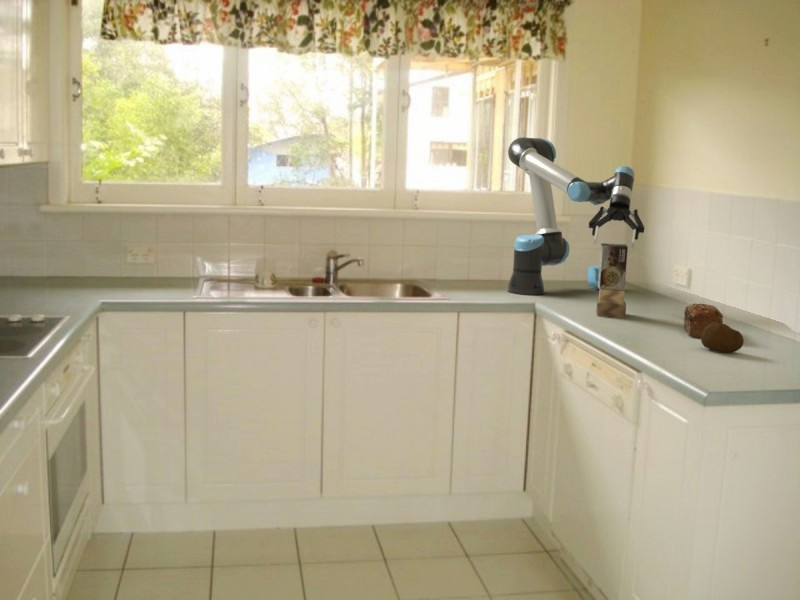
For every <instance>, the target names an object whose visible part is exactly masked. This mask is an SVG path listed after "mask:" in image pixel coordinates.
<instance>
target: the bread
mask: <svg viewBox="0 0 800 600" xmlns="http://www.w3.org/2000/svg"><path fill="white" fill-rule="evenodd" d="M723 317H724V315H723V313H722V312H721V311H720V310H719V309H718V308H717V307H716V306H714V305H711V304H706V303H692V304H690V305H687V306H686V307H685V309H684V318H683V323H684V325H683V326H684V330H685V332H686V333H687V335H688V336H689V337H692V338H696V339H697V338H698V339H701V335H702V332H703V330H704V329H705V327H707V326H708V325H709V324H711V323H723V322H724V321H723ZM723 324H724V323H723Z"/></svg>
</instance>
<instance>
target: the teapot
mask: <svg viewBox="0 0 800 600" xmlns="http://www.w3.org/2000/svg"><path fill="white" fill-rule="evenodd" d="M599 266H600V265H593V266H588V268H587V279H588V280H587V286H589V287H593V288H592V290H593V289H598V290H599V288H598V278H599Z"/></svg>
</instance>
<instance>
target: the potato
mask: <svg viewBox="0 0 800 600" xmlns="http://www.w3.org/2000/svg"><path fill="white" fill-rule="evenodd" d="M700 339H701V343H702V345H703V346H704V348H707V349H709V350H711V351H713V352H717V353H722V354H731V353H732V354H733V353H735V352H737V351H739V350H740V349H742V347H743V346H744V341H745V340H744V337H743V334H742V333H741V332H740V331H739V330H736V329H734V328H732V327H730V326H729V325H727V324H725V323H711V324H709V325H708V326H707V327H705V329H704V330H703V332H702V335H701V338H700Z"/></svg>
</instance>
